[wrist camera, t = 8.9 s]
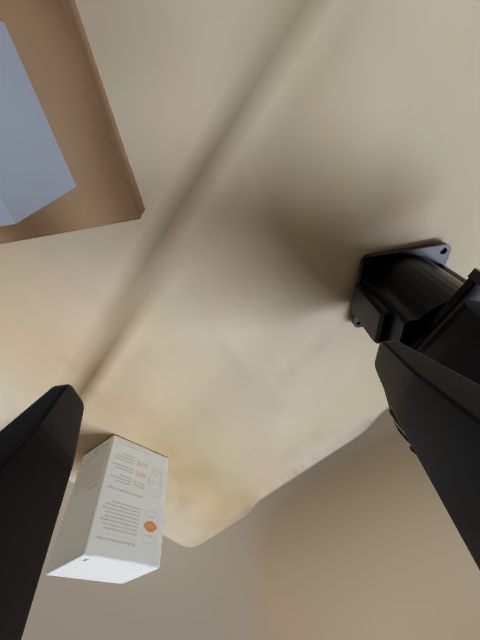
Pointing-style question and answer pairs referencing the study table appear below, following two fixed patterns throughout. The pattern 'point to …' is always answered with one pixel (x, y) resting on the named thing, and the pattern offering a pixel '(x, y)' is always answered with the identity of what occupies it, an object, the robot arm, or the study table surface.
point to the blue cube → (25, 144)
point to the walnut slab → (71, 121)
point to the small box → (113, 515)
